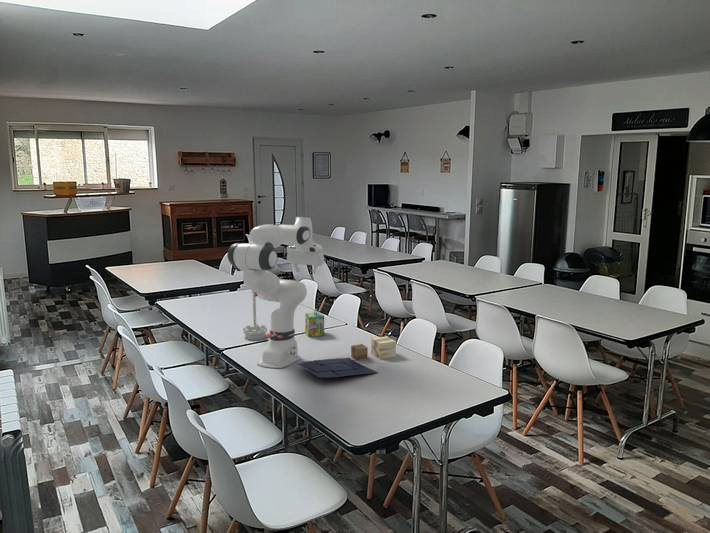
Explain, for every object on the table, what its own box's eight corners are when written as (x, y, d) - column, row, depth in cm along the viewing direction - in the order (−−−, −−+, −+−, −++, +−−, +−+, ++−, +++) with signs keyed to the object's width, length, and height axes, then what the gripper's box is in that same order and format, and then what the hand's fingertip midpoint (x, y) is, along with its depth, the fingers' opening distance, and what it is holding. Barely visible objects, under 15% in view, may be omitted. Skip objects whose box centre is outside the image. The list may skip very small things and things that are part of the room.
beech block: (395, 356, 262) (395, 341, 261) (379, 359, 258) (379, 343, 257) (386, 351, 270) (386, 336, 269) (371, 353, 266) (371, 338, 265)
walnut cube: (367, 359, 259) (367, 347, 258) (356, 361, 256) (356, 349, 255) (361, 355, 264) (361, 343, 263) (351, 357, 261) (351, 345, 260)
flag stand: (239, 338, 291) (237, 285, 286) (250, 332, 303) (248, 280, 298) (260, 341, 287) (258, 286, 282) (271, 334, 299) (269, 282, 294)
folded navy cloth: (294, 368, 243) (294, 360, 242) (348, 363, 260) (348, 355, 260) (321, 385, 223) (321, 377, 223) (377, 378, 240) (378, 370, 240)
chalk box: (305, 333, 301) (304, 307, 299) (320, 331, 304) (320, 306, 302) (308, 337, 293) (308, 311, 290) (324, 336, 295) (324, 310, 293)
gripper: (283, 246, 274) (285, 272, 278) (319, 249, 267) (320, 275, 270) (289, 244, 279) (291, 269, 283) (324, 246, 272) (325, 272, 276)
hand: (305, 272), depth 277 cm, fingers open, 8 cm apart
